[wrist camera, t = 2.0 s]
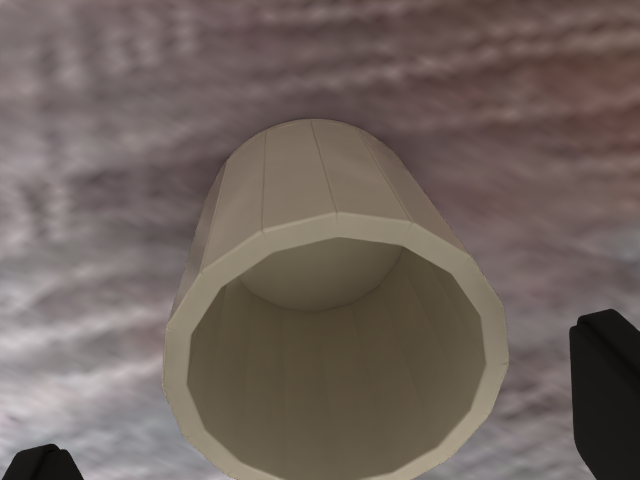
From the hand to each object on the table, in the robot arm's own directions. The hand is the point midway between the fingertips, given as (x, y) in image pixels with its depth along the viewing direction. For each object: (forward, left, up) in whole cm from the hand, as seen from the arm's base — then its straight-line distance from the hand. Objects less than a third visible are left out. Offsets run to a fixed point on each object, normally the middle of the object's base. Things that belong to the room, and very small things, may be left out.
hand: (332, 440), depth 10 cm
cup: (0, 0, -9) cm, 9 cm away
